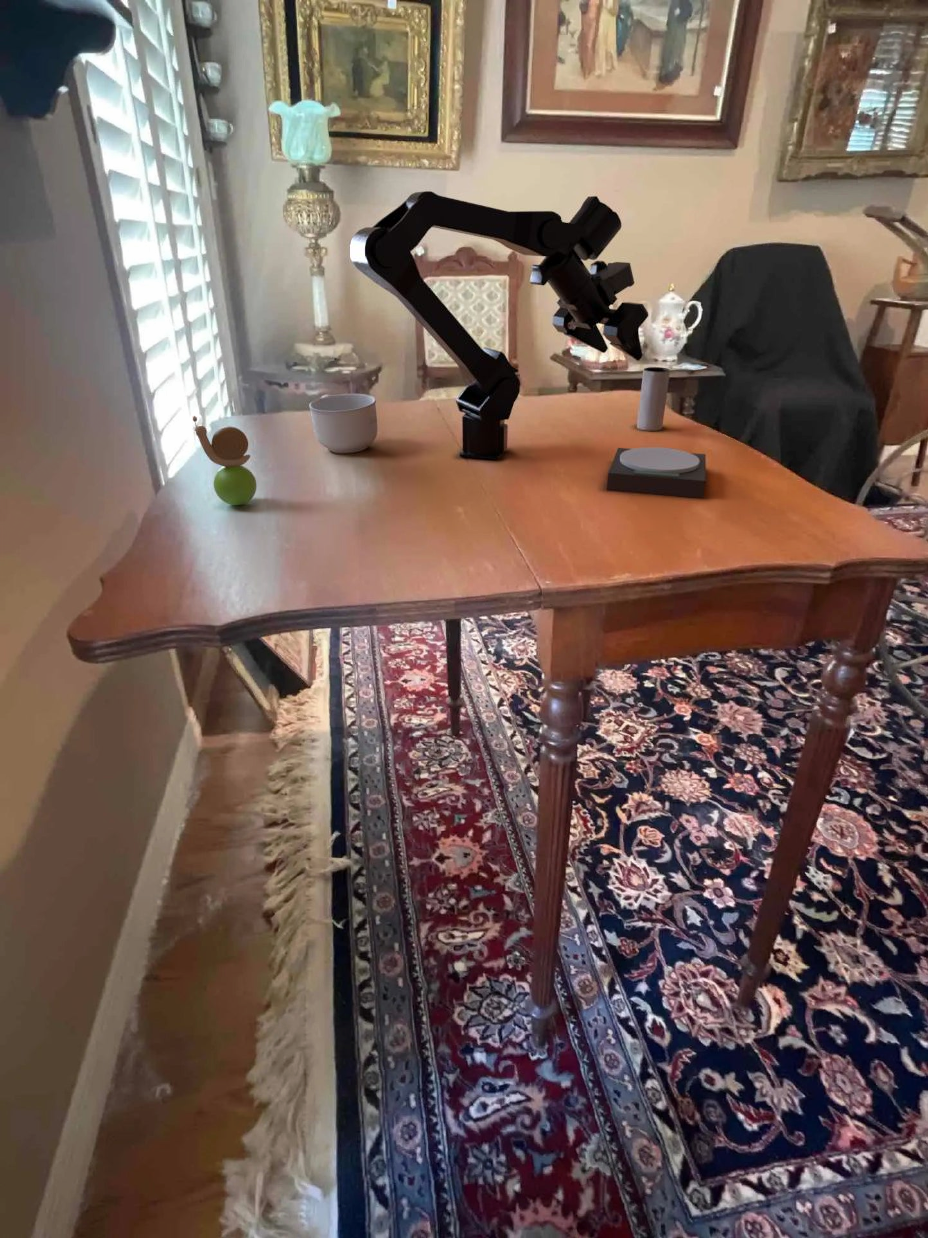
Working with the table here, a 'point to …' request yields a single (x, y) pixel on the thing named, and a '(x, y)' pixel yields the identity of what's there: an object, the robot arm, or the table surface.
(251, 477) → the snail figurine
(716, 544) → the table surface
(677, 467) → the scale
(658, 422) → the grey cylindrical piece
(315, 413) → the teacup
